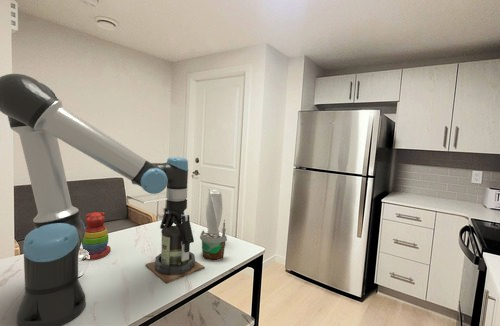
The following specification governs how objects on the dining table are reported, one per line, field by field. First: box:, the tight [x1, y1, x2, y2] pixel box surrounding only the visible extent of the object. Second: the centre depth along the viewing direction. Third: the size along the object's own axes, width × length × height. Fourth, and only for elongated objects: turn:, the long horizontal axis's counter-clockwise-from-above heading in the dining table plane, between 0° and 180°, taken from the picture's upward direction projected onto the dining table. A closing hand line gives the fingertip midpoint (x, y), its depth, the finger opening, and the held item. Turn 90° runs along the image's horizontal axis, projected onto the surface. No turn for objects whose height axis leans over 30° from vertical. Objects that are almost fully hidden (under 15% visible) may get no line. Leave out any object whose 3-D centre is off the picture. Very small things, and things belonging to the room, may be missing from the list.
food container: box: [199, 230, 228, 262], centre depth 110 cm, size 12×6×10 cm, turn 65°
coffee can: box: [160, 225, 188, 266], centre depth 100 cm, size 10×10×14 cm
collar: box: [154, 251, 196, 275], centre depth 100 cm, size 14×14×3 cm
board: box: [144, 260, 206, 284], centre depth 101 cm, size 16×16×1 cm
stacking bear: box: [81, 211, 112, 261], centre depth 107 cm, size 11×10×18 cm
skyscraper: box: [205, 187, 226, 237], centre depth 121 cm, size 8×8×28 cm
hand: (175, 253), depth 100 cm, fingers open, 13 cm apart
